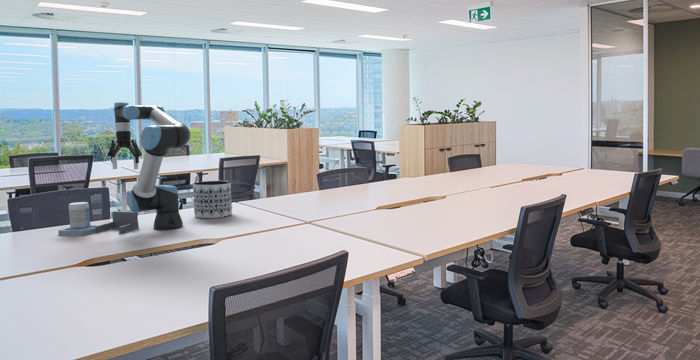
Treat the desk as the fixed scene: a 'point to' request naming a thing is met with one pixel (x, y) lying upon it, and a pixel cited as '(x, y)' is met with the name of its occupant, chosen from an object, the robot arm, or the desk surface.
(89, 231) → the tray
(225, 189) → the planter
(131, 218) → the bay
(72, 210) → the supplement tub
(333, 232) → the desk surface
